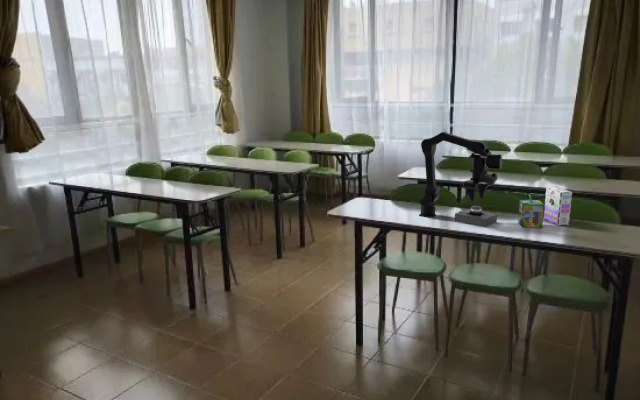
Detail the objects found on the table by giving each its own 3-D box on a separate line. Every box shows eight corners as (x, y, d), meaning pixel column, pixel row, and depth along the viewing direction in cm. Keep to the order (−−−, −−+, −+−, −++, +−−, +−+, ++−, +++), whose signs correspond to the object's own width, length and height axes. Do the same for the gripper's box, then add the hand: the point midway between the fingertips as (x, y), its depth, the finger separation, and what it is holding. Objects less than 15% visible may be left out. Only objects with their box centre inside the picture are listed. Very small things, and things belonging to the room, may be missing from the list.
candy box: (569, 225, 232) (573, 191, 228) (557, 226, 231) (560, 192, 228) (554, 218, 245) (557, 185, 241) (542, 218, 245) (545, 186, 241)
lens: (467, 218, 240) (468, 207, 239) (473, 216, 244) (473, 204, 243) (478, 221, 236) (478, 208, 235) (483, 218, 240) (484, 206, 239)
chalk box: (542, 228, 228) (545, 197, 225) (521, 227, 230) (524, 196, 226) (537, 223, 237) (540, 193, 234) (517, 222, 238) (519, 192, 235)
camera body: (454, 221, 242) (454, 213, 241) (466, 216, 250) (466, 209, 249) (485, 227, 231) (485, 219, 230) (496, 222, 239) (497, 214, 238)
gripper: (485, 171, 223) (483, 205, 226) (503, 166, 236) (501, 198, 239) (463, 169, 230) (461, 201, 234) (481, 164, 243) (480, 195, 247)
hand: (477, 199), depth 238 cm, fingers open, 9 cm apart
